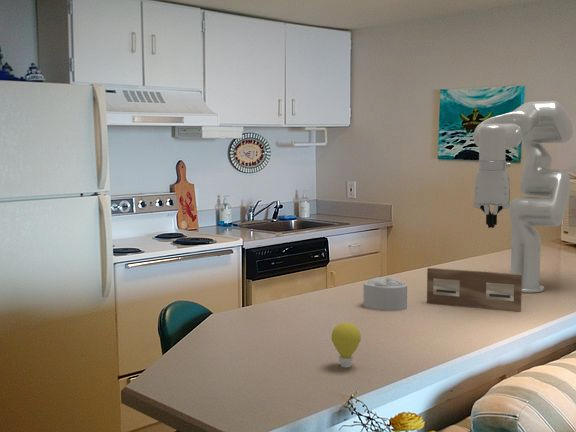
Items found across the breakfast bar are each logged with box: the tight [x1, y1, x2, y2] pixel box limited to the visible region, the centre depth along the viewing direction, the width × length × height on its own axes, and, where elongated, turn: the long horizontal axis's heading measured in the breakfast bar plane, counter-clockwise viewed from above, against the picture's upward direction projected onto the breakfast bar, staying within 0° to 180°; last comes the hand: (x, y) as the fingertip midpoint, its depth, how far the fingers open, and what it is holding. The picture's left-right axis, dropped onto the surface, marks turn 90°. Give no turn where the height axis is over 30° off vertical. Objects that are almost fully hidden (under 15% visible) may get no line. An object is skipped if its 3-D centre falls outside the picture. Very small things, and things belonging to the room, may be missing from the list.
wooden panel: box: [426, 267, 522, 313], centre depth 212 cm, size 2×28×11 cm, turn 66°
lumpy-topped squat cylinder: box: [363, 276, 408, 312], centre depth 213 cm, size 10×13×9 cm
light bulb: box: [330, 321, 362, 368], centre depth 157 cm, size 7×7×10 cm
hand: (491, 227), depth 209 cm, fingers closed
